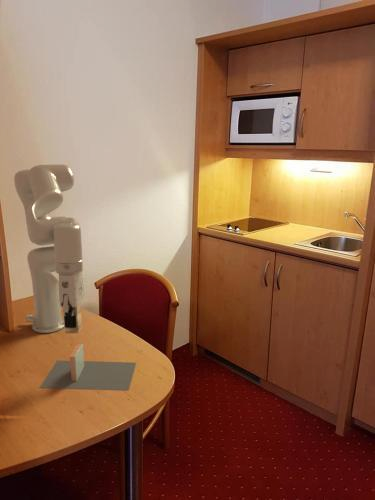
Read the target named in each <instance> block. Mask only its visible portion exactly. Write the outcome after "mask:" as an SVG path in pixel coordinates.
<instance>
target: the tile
mask: <svg viewBox="0 0 375 500" xmlns="http://www.w3.org/2000/svg"><path fill="white" fill-rule="evenodd" d="M84 355H85V354H84V344H83V343H79V342H78V343H77V344H76V346H75V348H74V349H73V351H72V353H71V354H70V356H69V361H70V365H71V379H72V381H77V380H78V378H79V376H80V374H81V372H82V370H83V368H84V361H85V359H84V358H85V356H84Z"/></svg>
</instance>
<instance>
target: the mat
mask: <svg viewBox="0 0 375 500" xmlns="http://www.w3.org/2000/svg"><path fill="white" fill-rule="evenodd" d="M136 367H137V362H129V361H127V362H126V361H125V362H123V361H93V360H90V361H88V360H84V368H83V370H82V372H81V374H80V376H79V378H78V380H77V381H72V379H71V365H70V360H60V359H59V360H56V362H55V363H54V365H53V366H52V368H51V369H50V370H49V372H48V374H47V375H46V376H45V378H44V380H43V381H42V383H41V385H40V386H39V389H57V390H58V389H59V390H60V389H61V390H62V389H63V390H65V389H66V390H90V391H91V390H94V391H95V390H97V391H98V390H99V391H102V390H103V391H105V390H106V391H129V390H130V388H131V387H130V386H131V383H132V380H133V376H134V373H135V372H134V371H135V370H136Z"/></svg>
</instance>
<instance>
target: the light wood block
mask: <svg viewBox="0 0 375 500" xmlns="http://www.w3.org/2000/svg"><path fill="white" fill-rule="evenodd" d="M63 302H64V301H63ZM69 305H71V304H69ZM69 309H70V310H71V311H72V308H69ZM74 315H76V328H66V327H64V333H65V334H79V333H80V331H81V329H82V328H83V324H82V323H83V322H82V321H83V320H82V305H81V302H80V303H79V305H78V306H77V307H74ZM64 326H65V319H64Z"/></svg>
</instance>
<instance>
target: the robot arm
mask: <svg viewBox="0 0 375 500" xmlns="http://www.w3.org/2000/svg"><path fill="white" fill-rule="evenodd" d="M74 176H75V175H74V173H73V170H72V169H71V168H70V166H68V165H67V164H39V165H38V164H37V165H34V166H32V167H31V168H30V169H28V168H27V169H21V170H18V171H17V172H16V173H15V174H14V176H13V181H14V186H15V191H16V194H17V195H18V198H19V200H20V201H21V203H22V206H23V209H24V215H25V222H26V228H27V235H28V238H29V241H30V242H31V243H32V244H35V245H37V246H42V247H36V248H34V249H31V250H30V251H29V252H28V254H27V258H26V259H27V264H28V268H29V272H30V276H31V285H32V294H33V305H34V314H26V315H25V321H26V322H27V323H32V324H31V329H32V330H33V331H34V332H36V333H41V334H49V333H55V332H58V331H60V330H63V328H64V329H65V327H66V328H76V315H74V307H77V306H78V305H79V303H80V304H81V302H82V300H83V298H84V297H85V288H84V285H85V284H84V277H83V271H84V266H83V265H84V264H83V252H82V251H83V246H82V230H81V229H82V228H81V226H80V223H79V222H78V221H77V219H76V218H74V217H66V216H52V217H51V214H50V213H51V212H53V211H56V210H57V209H58V208H59V207H61V205H62V204H63V201H64V195H63V193H64V192H67V191H69V190H71V189H72V188H73V187H74V183H75V177H74ZM48 245H50V246H48ZM52 245H53V246H52ZM53 273H56V274H58V278H57V277H56V276H55V275H53ZM63 301H64V302H63ZM69 304H71V305H69ZM69 308H72V311H71V310H70V309H69ZM62 313H63V317H62ZM64 319H65V326H64Z"/></svg>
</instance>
